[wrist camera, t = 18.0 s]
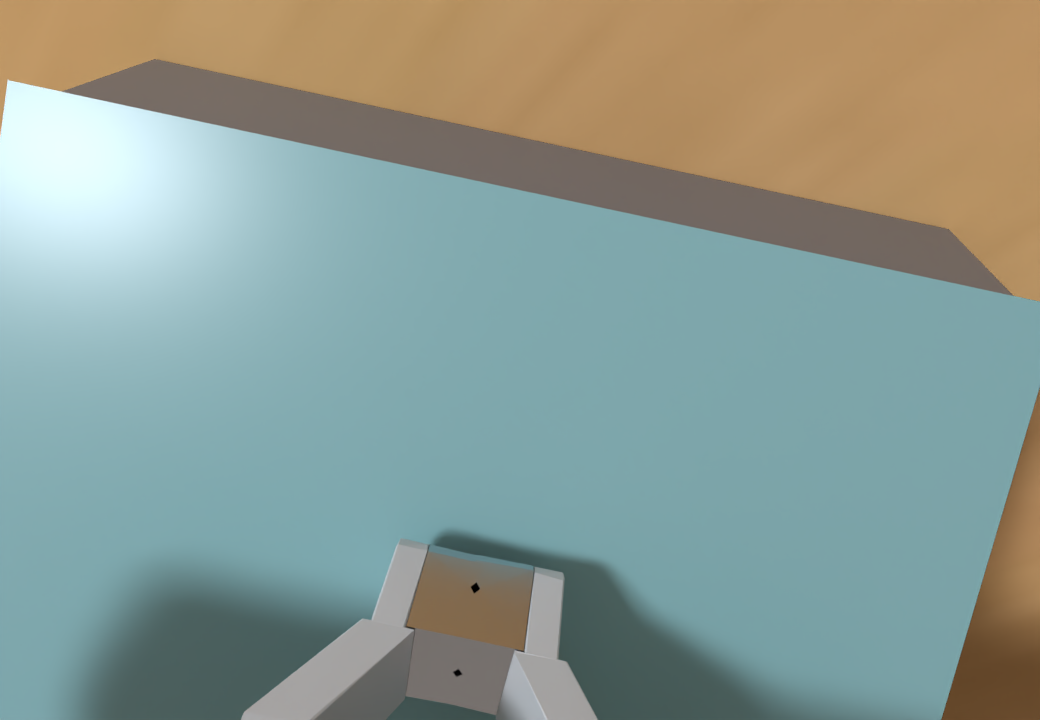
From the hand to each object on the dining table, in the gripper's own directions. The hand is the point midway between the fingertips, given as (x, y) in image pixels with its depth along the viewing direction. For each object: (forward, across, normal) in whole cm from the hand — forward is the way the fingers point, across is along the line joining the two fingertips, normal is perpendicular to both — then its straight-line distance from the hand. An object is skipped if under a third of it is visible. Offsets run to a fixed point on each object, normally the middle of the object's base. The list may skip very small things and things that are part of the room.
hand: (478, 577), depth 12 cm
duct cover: (+1, 0, +1) cm, 2 cm away
